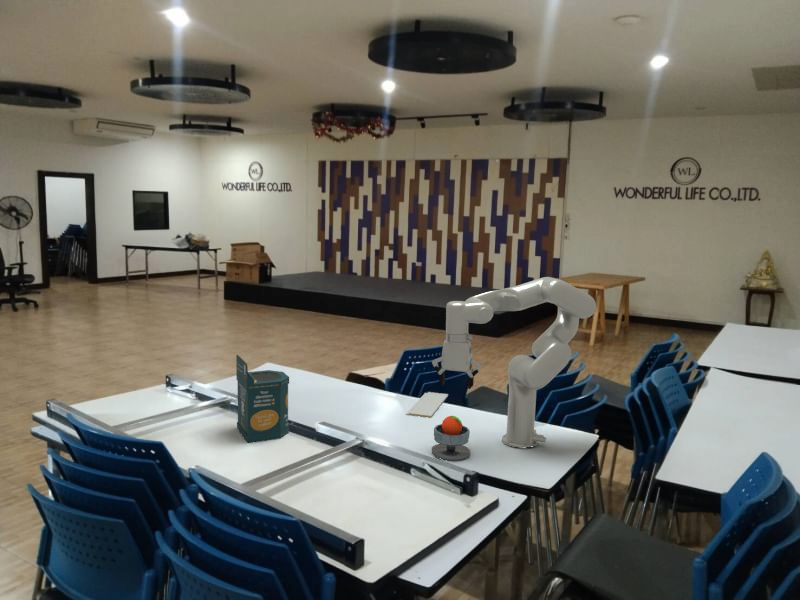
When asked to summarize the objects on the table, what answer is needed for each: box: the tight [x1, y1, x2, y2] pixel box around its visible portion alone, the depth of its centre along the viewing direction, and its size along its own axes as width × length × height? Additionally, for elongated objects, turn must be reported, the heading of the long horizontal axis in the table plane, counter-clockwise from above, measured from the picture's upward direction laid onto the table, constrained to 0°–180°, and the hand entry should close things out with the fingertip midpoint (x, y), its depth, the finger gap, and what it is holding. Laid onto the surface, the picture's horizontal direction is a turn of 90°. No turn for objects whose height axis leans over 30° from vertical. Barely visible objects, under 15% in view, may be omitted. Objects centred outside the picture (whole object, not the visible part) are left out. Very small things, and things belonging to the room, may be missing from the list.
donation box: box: [235, 354, 290, 444], centre depth 220 cm, size 16×16×28 cm
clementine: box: [441, 415, 464, 435], centre depth 206 cm, size 8×7×7 cm
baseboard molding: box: [405, 389, 449, 419], centre depth 259 cm, size 31×3×12 cm
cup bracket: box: [431, 423, 471, 462], centre depth 207 cm, size 13×13×8 cm
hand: (456, 386), depth 210 cm, fingers open, 9 cm apart
